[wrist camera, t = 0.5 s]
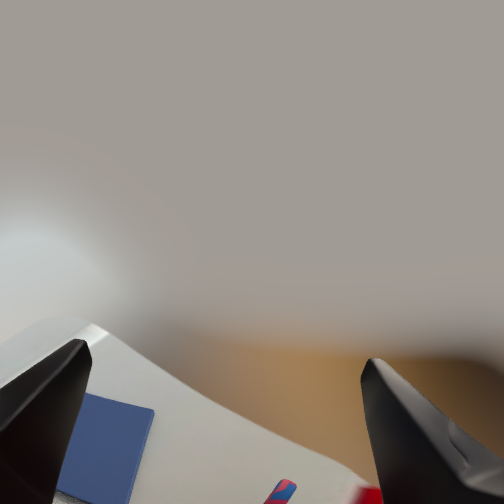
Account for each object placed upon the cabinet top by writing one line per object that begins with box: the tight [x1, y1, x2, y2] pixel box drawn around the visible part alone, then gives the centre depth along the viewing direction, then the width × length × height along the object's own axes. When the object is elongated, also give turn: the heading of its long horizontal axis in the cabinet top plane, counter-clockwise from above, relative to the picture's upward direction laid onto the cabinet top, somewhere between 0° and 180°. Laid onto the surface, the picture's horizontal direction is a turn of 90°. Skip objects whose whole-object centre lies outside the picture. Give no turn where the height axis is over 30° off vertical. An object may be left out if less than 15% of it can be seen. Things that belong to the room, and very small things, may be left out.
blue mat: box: [56, 393, 154, 504], centre depth 19 cm, size 10×10×1 cm
